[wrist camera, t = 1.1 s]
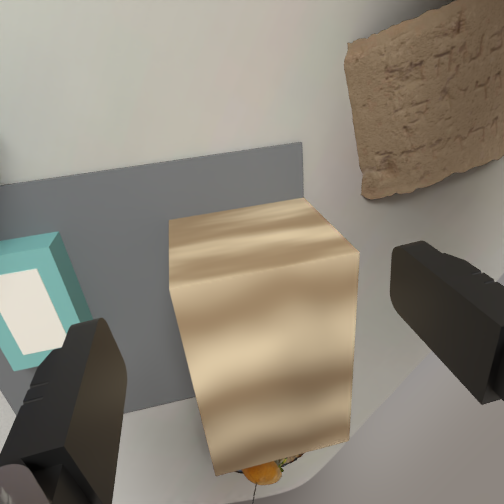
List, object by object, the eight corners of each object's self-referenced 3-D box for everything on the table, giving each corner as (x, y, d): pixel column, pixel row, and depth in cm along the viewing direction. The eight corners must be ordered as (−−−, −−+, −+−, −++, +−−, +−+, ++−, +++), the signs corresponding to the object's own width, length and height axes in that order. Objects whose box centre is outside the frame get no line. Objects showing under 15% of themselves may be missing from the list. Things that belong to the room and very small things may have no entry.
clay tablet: (355, 201, 29) (374, 214, 26) (322, 48, 23) (341, 46, 21) (538, 123, 29) (575, 129, 26) (549, -46, 23) (597, -60, 21)
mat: (-113, 201, 22) (-116, 203, 21) (300, 142, 25) (302, 142, 25) (30, 432, 32) (29, 435, 32) (307, 368, 36) (308, 370, 35)
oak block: (168, 220, 25) (169, 289, 18) (303, 197, 27) (359, 252, 19) (204, 379, 33) (215, 476, 25) (307, 355, 34) (348, 440, 27)
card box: (-30, 245, 23) (-50, 264, 21) (58, 231, 24) (48, 247, 22) (25, 348, 28) (13, 372, 26) (98, 333, 29) (93, 355, 26)
